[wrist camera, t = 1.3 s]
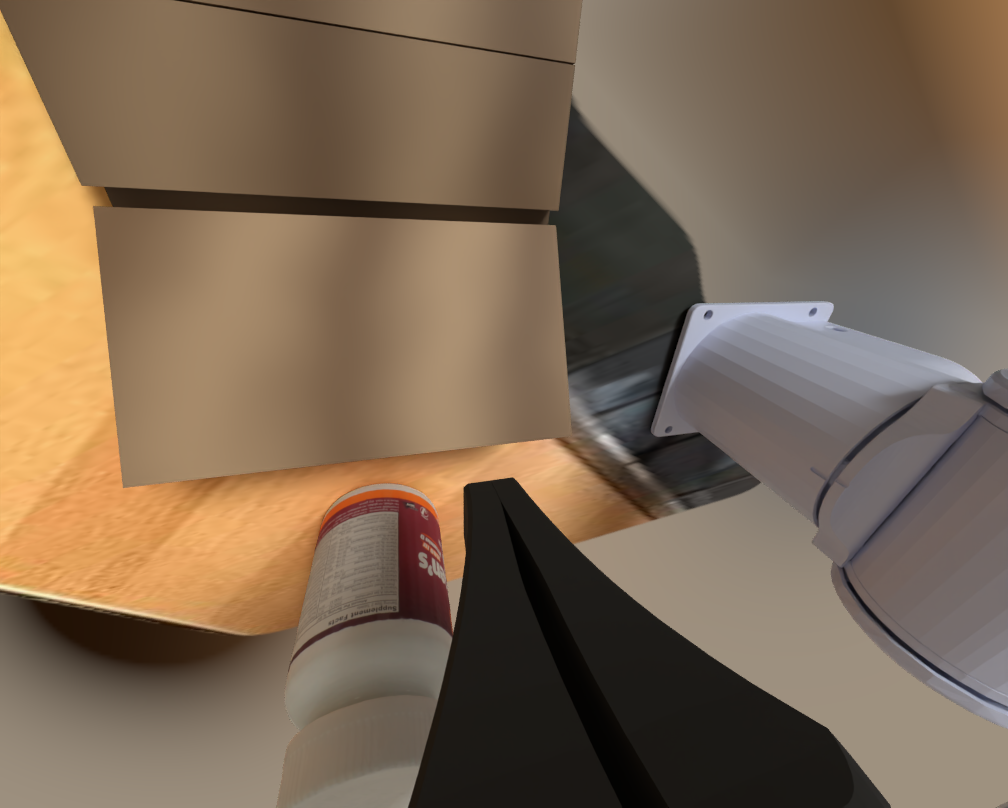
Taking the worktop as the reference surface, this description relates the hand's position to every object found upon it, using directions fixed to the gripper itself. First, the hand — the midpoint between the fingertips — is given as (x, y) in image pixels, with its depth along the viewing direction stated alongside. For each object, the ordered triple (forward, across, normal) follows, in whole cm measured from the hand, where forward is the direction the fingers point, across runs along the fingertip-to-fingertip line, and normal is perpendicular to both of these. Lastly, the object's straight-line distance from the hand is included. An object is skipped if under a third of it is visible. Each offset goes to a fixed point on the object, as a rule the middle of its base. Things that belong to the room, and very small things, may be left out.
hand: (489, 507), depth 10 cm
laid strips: (+8, +3, -11) cm, 14 cm away
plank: (+6, +3, -2) cm, 7 cm away
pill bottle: (+9, +4, +9) cm, 13 cm away
